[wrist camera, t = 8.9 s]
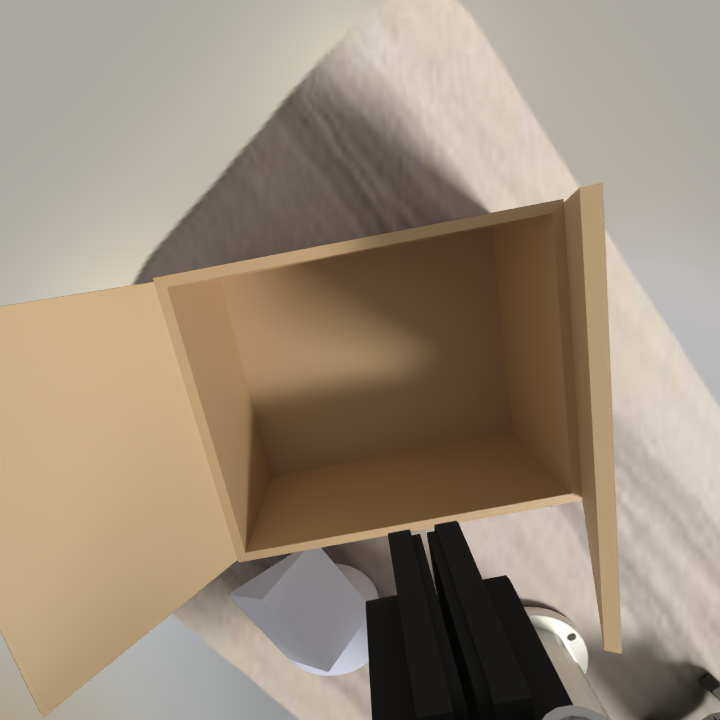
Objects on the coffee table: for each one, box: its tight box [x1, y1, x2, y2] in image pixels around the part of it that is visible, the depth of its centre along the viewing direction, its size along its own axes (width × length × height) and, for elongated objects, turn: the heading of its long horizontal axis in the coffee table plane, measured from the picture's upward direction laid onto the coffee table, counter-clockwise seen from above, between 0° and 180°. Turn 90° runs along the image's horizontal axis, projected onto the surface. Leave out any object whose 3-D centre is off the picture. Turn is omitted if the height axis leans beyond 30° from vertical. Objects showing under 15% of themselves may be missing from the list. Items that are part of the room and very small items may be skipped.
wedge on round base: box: [228, 548, 379, 676], centre depth 35 cm, size 9×7×13 cm
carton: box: [153, 199, 582, 563], centre depth 29 cm, size 18×22×10 cm
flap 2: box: [564, 183, 622, 654], centre depth 19 cm, size 18×10×1 cm
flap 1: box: [0, 282, 237, 718], centre depth 20 cm, size 18×10×1 cm
